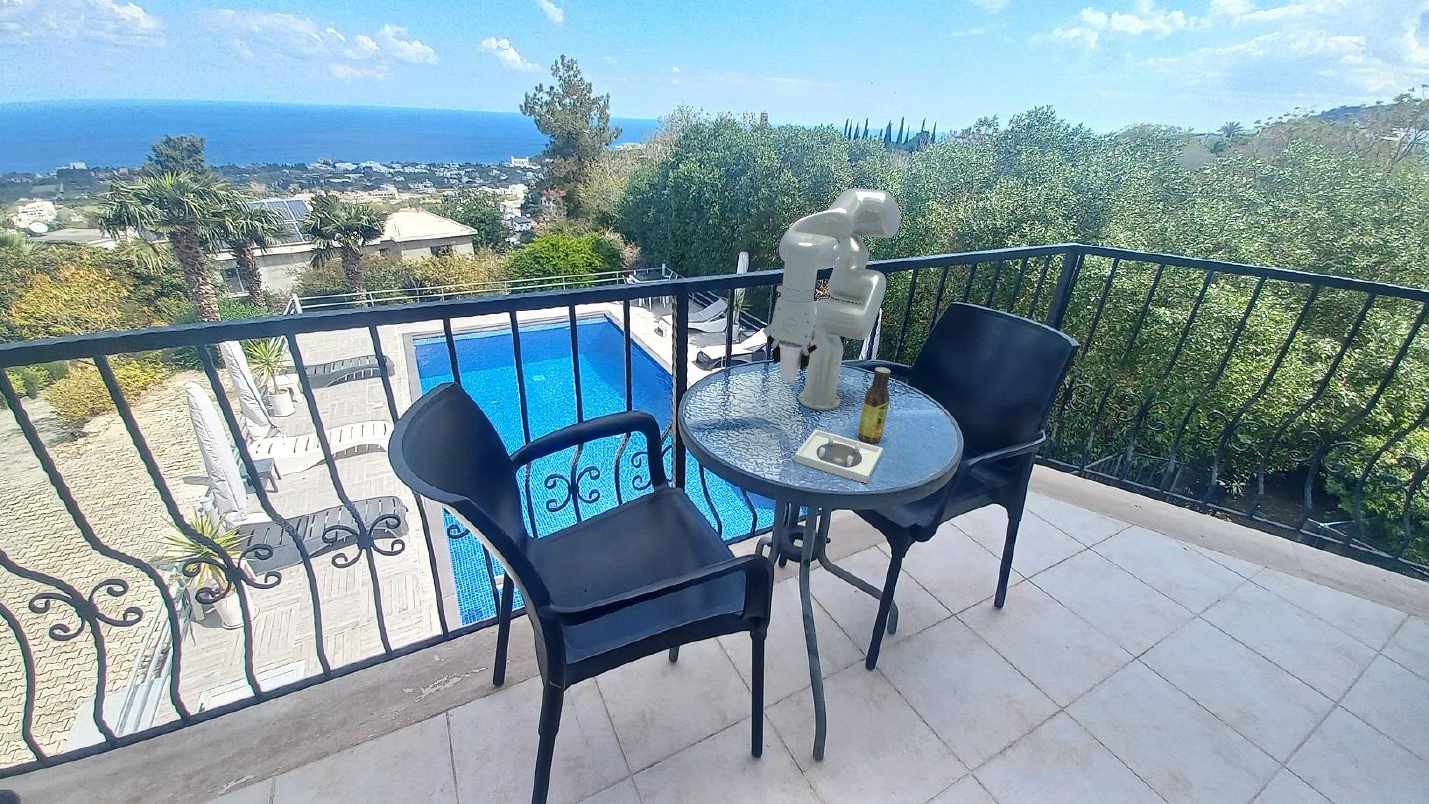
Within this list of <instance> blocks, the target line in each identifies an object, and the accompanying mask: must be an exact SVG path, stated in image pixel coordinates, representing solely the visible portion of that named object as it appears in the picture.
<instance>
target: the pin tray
mask: <svg viewBox="0 0 1429 804" xmlns="http://www.w3.org/2000/svg"><path fill="white" fill-rule="evenodd" d="M883 450H884V448H883V447H880V446H876V445H872V444H870V443H867V442H866V443H865V442H864V441H863V442H861V441H858V440H855V439H851V438H848V437H844V436H840V435H837V434H834V433H830V432H826V431H823V430H820V429H817V428H816V429H814V430H813V431H812V432H811V434H810V435H809V436H808V437H807V439H806V440H805V441H804V442H803V444H802V445H801V446H800V448H798V450H797V451H796V452H795V454H794V459H793V461H794V463H797V464H800V465H805V466H807V467H810V468H813V469H817V470H820V471H823V472H826V473H829V474H833V475H836V476H838V475H839V477H842V478H845V479H849V480H851V479H853V480H852V481H854V480H857V481H861V482H864V483H867V484H868V482H869V480H870V478H871V477H872V474H873V473H872V472H874V471H873V470H875V469H876V467H877V464H878V463H879V461H880V459H881V457H882V455H883V454H882V453H883ZM879 458H880V459H879ZM875 466H876V467H875ZM874 468H875V469H874ZM857 481H856V482H857ZM861 482H860V483H861ZM864 483H863V484H864Z"/></svg>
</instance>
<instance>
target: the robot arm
mask: <svg viewBox="0 0 1429 804" xmlns="http://www.w3.org/2000/svg"><path fill="white" fill-rule="evenodd" d="M901 217H902V216H901V211H900V209H899V206H898V205H897V202H896V200H895V198H894V197H893V195H892V194H890V193H889V191H886V190H881V189H870V188H861V187H860V188H857V187H854V188H848V189H846V190H844V191H843V192H841V194H840V195H838V197H837V198H836V199H835V200H833V202H832V204H831V205H830V206H829V207H828V208H827V209H826V210H822V211H820V212H819V211H818V212H816V213H814V214H811V215H808V216H804V217H802V218H799V219H798V220H796V221H795V222H794V223H793V224H791V226H790V227H788V229H787V230H786V232H785V233H784V235H782V238H781V239H780V242H779V245H778V247H779V248H778V253H779V256H780V259H781V260H782V261H783V262H784V268H783V277H782V278H783V279H782V285H777V286H776V292H778V293H780V296H779V297H777V300H776V302H775V305H774V310H773V314H772V315H773V316H772V320H771V323H770V324H769V325H768V326H766V327H764V328H763V329H762V332H763V334H764V336H765V337H766V338H767V341H769V343H770V345H771V348H772V349H773V350H772V357H771V358H772V360H773V362H772V363H773V364H774V365H776V364H778V363H780V347H779V342H780V341H784V342H789V343H793V344H798V345H802V349H803V353H802V355H801V361H800V365H799V370H800V371H804V370H805V369H806V368H807V371H806V377H805V386H804V390H803V391H801V392H800V393H799V394H798V401H799V403H801V405H802V406H804V407H807V408H810V409H812V410H817V411H830V410H835V409H837V408H839V406H840V404H841V399H840V397H839V396H838V395H837V392H838V386H839V379H840V374H841V367H842V366H841V365H842V360H843V355H844V346H843V342H842V339H841V338H840V337H845V338H849V339H854V340H860V341H863V340H866V339H868V337H869V336H870V334H871V333H872V330H873V328H874V327H875V326H874V325H875V323H876V321H877V320H876V319H877V316H878V314H879V311H880V309H881V306H882V303H883V300H884V296H885V292H886V288H887V279H886V276H885V274H884V273H882V272H880V271H878V270H874V269H866V267H867V264H868V261H869V258H870V254H869V250H868V248H867V246H866V245H865V243H864V241H863V240H862V238H861V237H860V236H863V237H872V238H880V239H890V238H893V237H894V236H895V235H896V234H897V233H898V231H899V229H900V227H901ZM832 267H833V269H832V273H831V275H830V278H829V279H828V280H829V281H828V284H827V292H828V294H829V295H830V296H831V297H832V298H834V299H831V298H823V299H819V300H818V301H816V300H814V299H815V298H814V297H815V293H816V292H815V291H816V283H817V277H818V276H817V274H818V270H827V269H830V268H832Z"/></svg>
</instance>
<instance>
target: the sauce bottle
mask: <svg viewBox="0 0 1429 804" xmlns="http://www.w3.org/2000/svg"><path fill="white" fill-rule="evenodd" d="M891 371H892V370H890V369H889V368H887V367H883V366H882V367H881V366H880V367H878V366H877V367H875V368H874V371H873V372H874V373H873V374H874V375H873V380H872V383H871V384H872V385H870V387H868V389H867V390H866V393H865V397H864V400H863V401H864V402H863V404H862V411H861V415H860V421H859V425H858V433H857V435H858V436H857V437H858V439H860V440H862V441H863V442H866V443H868V444H870V443H873V444H874V443H878V442H880V441H881V438H882V436H883V433H884V428H885V423H886V419H887V414H888V408H889V405H890V399H891V398H890V396H889V395H890V394H889V388H888V386H889V381H890V377H891V374H892V372H891Z"/></svg>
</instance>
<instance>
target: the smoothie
mask: <svg viewBox="0 0 1429 804" xmlns="http://www.w3.org/2000/svg"><path fill="white" fill-rule="evenodd" d="M779 347H780V361H779V363H780V380H781V381H782V382H784V383H794V382H796V380H797V375H798V371H799V370H800V362H801V355H802V354H803V349H802V345H798V344H793V343H789V342H784V341H780V342H779Z"/></svg>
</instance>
